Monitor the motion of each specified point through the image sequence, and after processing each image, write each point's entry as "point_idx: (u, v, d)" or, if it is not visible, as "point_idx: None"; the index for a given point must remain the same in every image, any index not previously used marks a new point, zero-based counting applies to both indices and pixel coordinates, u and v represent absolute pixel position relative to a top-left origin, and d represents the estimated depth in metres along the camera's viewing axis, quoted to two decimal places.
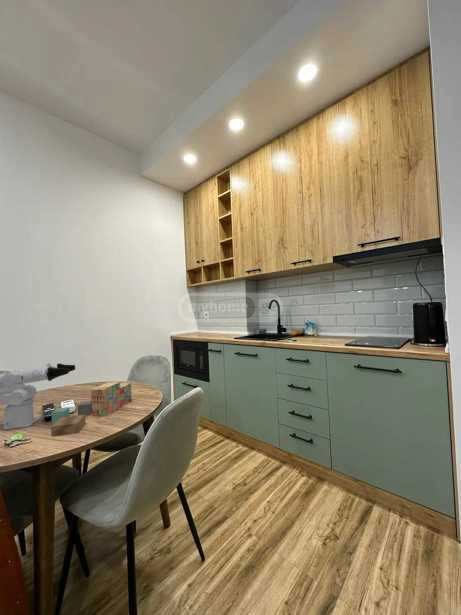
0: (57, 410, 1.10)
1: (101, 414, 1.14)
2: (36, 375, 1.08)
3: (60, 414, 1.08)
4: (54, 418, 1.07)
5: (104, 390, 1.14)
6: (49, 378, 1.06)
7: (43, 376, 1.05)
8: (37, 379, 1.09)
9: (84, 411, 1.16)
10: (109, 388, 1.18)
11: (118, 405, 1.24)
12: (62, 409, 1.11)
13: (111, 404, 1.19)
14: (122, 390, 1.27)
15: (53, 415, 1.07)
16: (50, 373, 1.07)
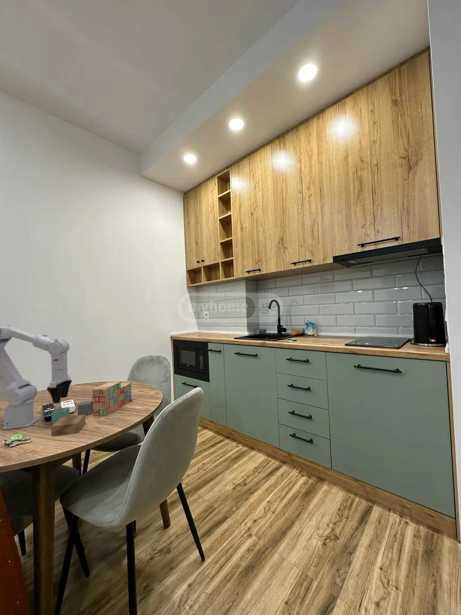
0: (57, 410, 1.10)
1: (102, 414, 1.14)
2: (57, 372, 1.08)
3: (60, 414, 1.08)
4: (54, 418, 1.07)
5: (105, 390, 1.15)
6: (49, 389, 1.04)
7: (51, 385, 1.04)
8: (52, 372, 1.08)
9: (84, 411, 1.16)
10: (110, 388, 1.18)
11: (119, 405, 1.24)
12: (62, 409, 1.11)
13: (112, 404, 1.19)
14: (122, 390, 1.28)
15: (53, 415, 1.07)
16: None
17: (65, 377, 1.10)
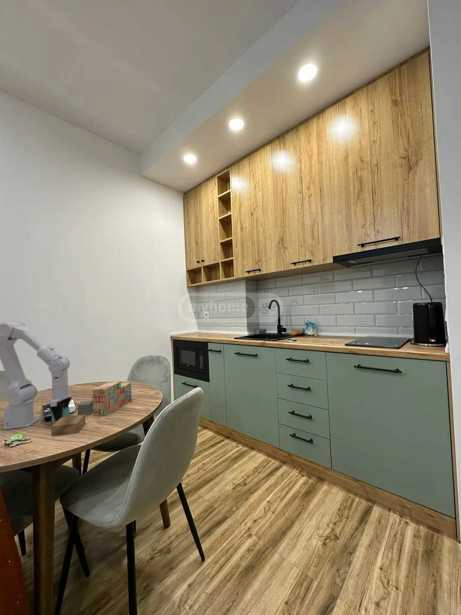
0: None
1: (103, 414, 1.14)
2: (57, 390, 1.08)
3: None
4: None
5: (106, 390, 1.15)
6: (51, 407, 1.05)
7: (52, 404, 1.03)
8: (53, 390, 1.08)
9: (84, 411, 1.16)
10: (110, 388, 1.18)
11: (119, 405, 1.24)
12: None
13: (112, 404, 1.19)
14: (123, 390, 1.28)
15: None
16: None
17: (65, 395, 1.10)
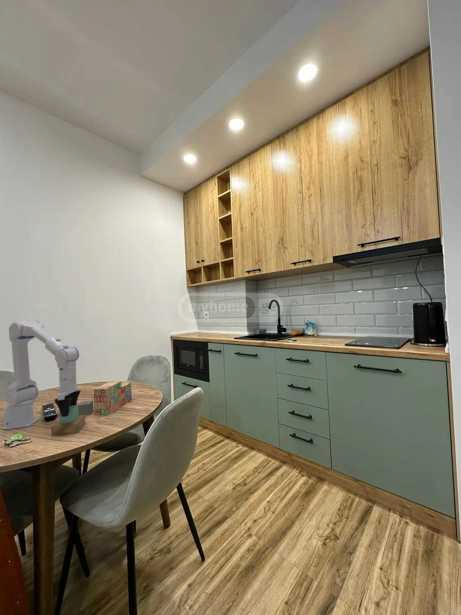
0: None
1: (104, 413, 1.15)
2: (65, 382, 0.99)
3: None
4: (63, 417, 0.98)
5: (107, 389, 1.15)
6: (57, 401, 0.95)
7: (60, 397, 0.94)
8: (60, 382, 0.99)
9: (84, 411, 1.16)
10: (111, 387, 1.19)
11: (119, 404, 1.25)
12: (71, 407, 1.02)
13: (113, 403, 1.20)
14: (123, 389, 1.28)
15: None
16: None
17: (74, 388, 1.01)
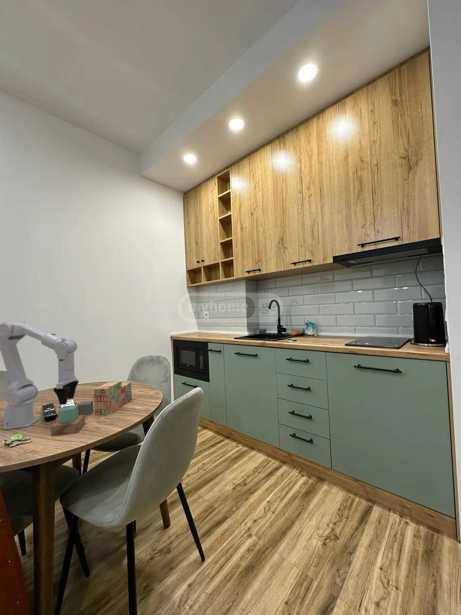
0: (65, 408, 1.01)
1: (104, 413, 1.15)
2: (63, 372, 1.05)
3: (68, 413, 0.99)
4: (62, 417, 0.98)
5: (107, 389, 1.16)
6: (56, 390, 1.01)
7: (58, 386, 1.01)
8: (59, 372, 1.05)
9: (84, 411, 1.16)
10: (111, 387, 1.19)
11: (120, 404, 1.25)
12: (70, 407, 1.02)
13: (113, 403, 1.20)
14: (123, 389, 1.29)
15: (61, 413, 0.98)
16: None
17: (72, 378, 1.07)
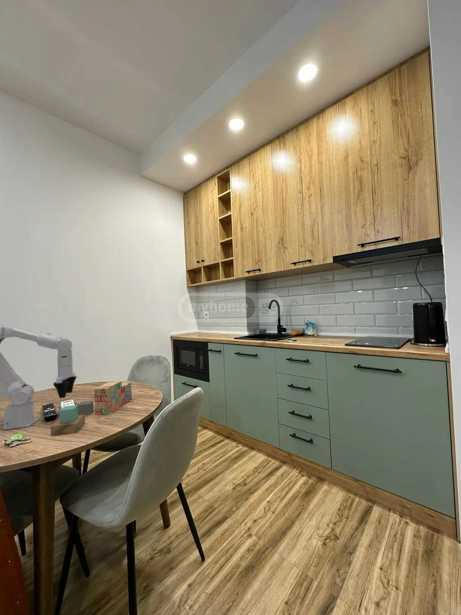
0: (65, 408, 1.01)
1: (104, 413, 1.15)
2: (62, 368, 1.14)
3: (68, 413, 0.99)
4: (63, 417, 0.99)
5: (107, 389, 1.16)
6: (55, 384, 1.10)
7: (58, 381, 1.09)
8: (58, 368, 1.14)
9: (84, 411, 1.16)
10: (112, 387, 1.19)
11: (120, 404, 1.25)
12: (70, 407, 1.02)
13: (114, 403, 1.20)
14: (123, 389, 1.29)
15: (61, 413, 0.99)
16: (61, 383, 1.12)
17: (70, 373, 1.16)
